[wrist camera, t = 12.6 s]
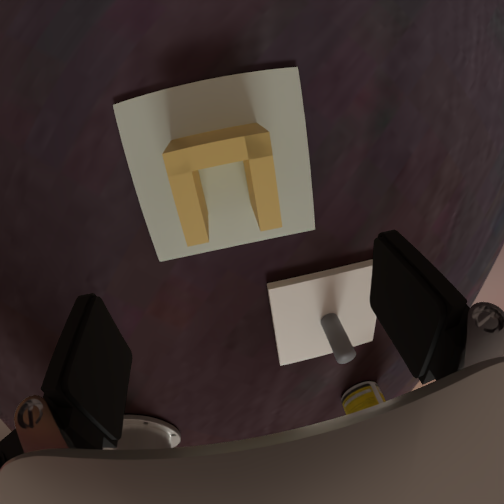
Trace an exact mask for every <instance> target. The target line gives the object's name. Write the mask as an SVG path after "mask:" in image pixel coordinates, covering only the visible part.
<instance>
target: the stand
mask: <svg viewBox="0 0 504 504" xmlns="http://www.w3.org/2000/svg"><path fill="white" fill-rule="evenodd" d="M372 265H373V259H371V260H367V261H363V262H359V263H354V264H350V265H346V266H342V267H338V268H333V269H329V270H325V271H320V272H316V273H312V274H307V275H303V276H298V277H294V278H289V279H285V280H280V281H276V282H271V283H267V289H268V295H269V301H270V308H271V314H272V320H273V326H274V332H275V339H276V345H277V351H278V357H279V362H280V366H282V365H286V364H290V363H295V362H299V361H303V360H307V359H311V358H315V357H318V356H322V355H326V354H330V353H334V355H335V358H336V360H337V362H338V363H340V364H344V363H348V362H350V361H351V360H353V359H354V357H355V356H356V352H355V350H354V348H353V347H354V346H357V345H361V344H364V343H367V342H370V341H373V335H374V329H375V323H376V317H377V316H376V315H375V313H374V312H373V310H372V308H371V306H370V289H371V278H372Z"/></svg>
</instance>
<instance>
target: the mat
mask: <svg viewBox="0 0 504 504" xmlns="http://www.w3.org/2000/svg"><path fill="white" fill-rule="evenodd" d="M113 108H114V112H115V116H116V121H117V125H118V129H119V132H120V136H121V140H122V144H123V148H124V151H125V155H126V159H127V162H128V166H129V169H130V173H131V176H132V179H133V183H134V186H135V189H136V193H137V196H138V199H139V202H140V205H141V209H142V212H143V215H144V218H145V221H146V224H147V227H148V230H149V233H150V236H151V239H152V241H153V244H154V247H155V250H156V253H157V256H158V258H159V261H160V262H161V261H166V260H170V259H175V258H180V257H185V256H189V255H194V254H199V253H203V252H208V251H213V250H218V249H223V248H227V247H232V246H237V245H242V244H247V243H251V242H256V241H261V240H266V239H271V238H276V237H281V236H285V235H290V234H295V233H300V232H305V231H310V230H315V221H314V207H313V194H312V183H311V172H310V161H309V151H308V142H307V133H306V124H305V116H304V108H303V100H302V93H301V86H300V79H299V72H298V67H290V68H280V69H271V70H262V71H255V72H248V73H241V74H235V75H229V76H223V77H218V78H212V79H207V80H202V81H198V82H193V83H189V84H184V85H180V86H176V87H172V88H168V89H164V90H160V91H157V92H153V93H149V94H146V95H143V96H139V97H136V98H133V99H129V100H126V101H123V102H120V103H117V104H114V105H113ZM251 123H258V124H259V125H261V126H262V127H264V128H265V129H266V130H268V131H269V132H270V139H271V146H272V153H273V160H274V167H275V174H276V182H277V189H278V197H279V204H280V212H281V220H282V227H281V228H276V229H271V230H266V231H260V229H259V226H258V223H257V220H256V218H255V215H254V212H253V209H252V206H251V203H250V198H249V192H248V186H247V180H246V175H245V169H244V163H243V161H239V162H234V163H229V164H224V165H219V166H214V167H209V168H205V169H200V170H198V171H199V175H200V180H201V184H202V188H203V192H204V197H205V201H206V205H207V209H208V221H209V242H208V243H203V244H198V245H194V246H189V247H187V243H186V240H185V237H184V233H183V230H182V226H181V223H180V219H179V216H178V212H177V209H176V205H175V202H174V198H173V194H172V190H171V187H170V183H169V179H168V175H167V172H166V168H165V164H164V160H163V156H162V153H163V152H164V150H165V149H166V147H167V146H168V144H169V143H170V141H171V140H174V139H178V138H182V137H186V136H190V135H195V134H199V133H204V132H209V131H213V130H218V129H223V128H228V127H234V126H239V125H245V124H251Z"/></svg>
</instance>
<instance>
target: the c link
mask: <svg viewBox="0 0 504 504" xmlns="http://www.w3.org/2000/svg"><path fill="white" fill-rule="evenodd" d="M162 156H163V160H164V164H165V168H166V172H167V175H168V179H169V183H170V187H171V190H172V194H173V198H174V202H175V205H176V209H177V212H178V216H179V219H180V223H181V226H182V230H183V233H184V237H185V240H186V243H187V247H189V246H194V245H198V244H203V243H208V242H209V221H208V209H207V205H206V201H205V197H204V192H203V188H202V184H201V180H200V175H199V171H198V170H200V169H205V168H209V167H214V166H219V165H224V164H229V163H234V162H239V161H243V163H244V169H245V175H246V180H247V186H248V192H249V198H250V203H251V206H252V209H253V212H254V215H255V218H256V220H257V223H258V226H259V229H260V231H266V230H271V229H276V228H281V227H282V220H281V212H280V204H279V197H278V189H277V182H276V174H275V167H274V160H273V153H272V146H271V139H270V132H269V131H268V130H266V129H265V128H264V127H262V126H261V125H259V124H258V123H251V124H245V125H239V126H234V127H228V128H223V129H218V130H213V131H209V132H204V133H199V134H195V135H190V136H186V137H182V138H178V139H174V140H171V141H170V143H169V144H168V146H167V147H166V149H165V150H164V152H163V153H162Z"/></svg>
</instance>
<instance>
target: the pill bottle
mask: <svg viewBox="0 0 504 504" xmlns="http://www.w3.org/2000/svg"><path fill="white" fill-rule="evenodd" d="M383 402H386V400H385V398H384V396H383V394H382V392H381V390H380V388H379V386H378V385H377V383H375V382H372V381H366V382H362V383H359V384H357V385H355V386H353V387H351V388H350V389H348V390H347V391H346V392H345V393H344V395H343V396H342V404H343V407H344V410H345V412H346V415H348V414H351V413H354V412H357V411H360V410H363V409H366V408H369V407H372V406H375V405H378V404H380V403H383Z"/></svg>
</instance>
